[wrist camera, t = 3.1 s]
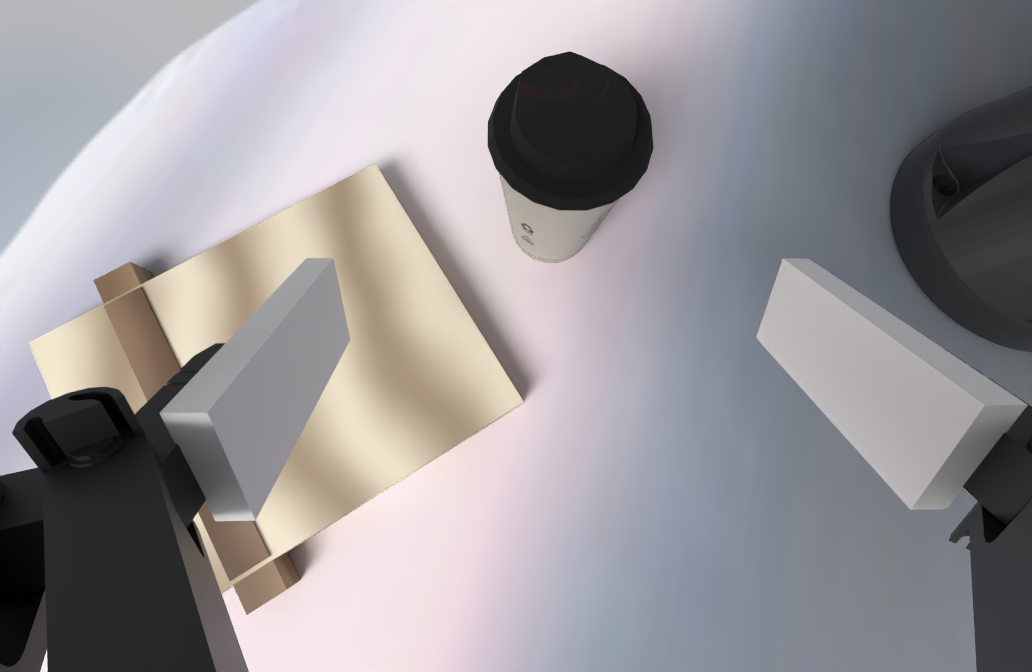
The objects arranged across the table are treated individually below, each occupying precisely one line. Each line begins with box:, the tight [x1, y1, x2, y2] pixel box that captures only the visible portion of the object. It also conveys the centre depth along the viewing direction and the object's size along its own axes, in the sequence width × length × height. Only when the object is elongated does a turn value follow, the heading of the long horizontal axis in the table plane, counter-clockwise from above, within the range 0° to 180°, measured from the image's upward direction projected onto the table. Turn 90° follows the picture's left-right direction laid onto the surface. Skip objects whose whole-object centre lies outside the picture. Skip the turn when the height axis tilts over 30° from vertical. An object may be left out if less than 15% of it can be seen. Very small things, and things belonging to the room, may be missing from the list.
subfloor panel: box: [29, 164, 524, 615], centre depth 24 cm, size 20×19×2 cm
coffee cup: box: [488, 52, 653, 263], centre depth 23 cm, size 7×7×10 cm
